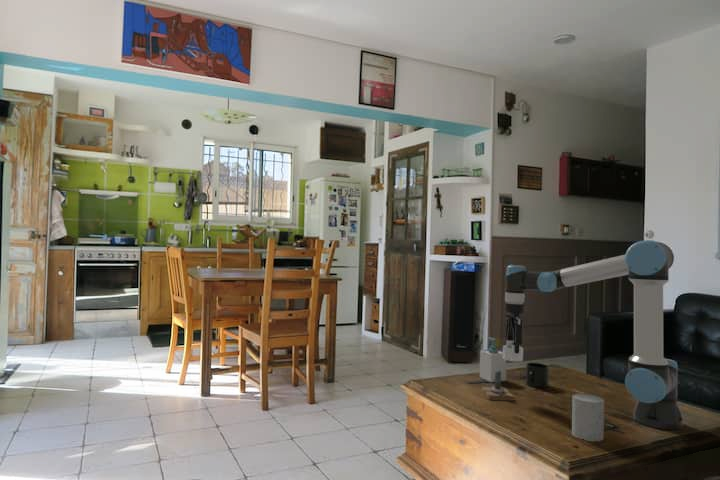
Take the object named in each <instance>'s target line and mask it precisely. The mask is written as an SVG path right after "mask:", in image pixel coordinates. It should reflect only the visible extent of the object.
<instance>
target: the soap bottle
mask: <svg viewBox="0 0 720 480" xmlns="http://www.w3.org/2000/svg"><path fill="white" fill-rule="evenodd" d="M486 338H487V339H488V340H489V341H491V345H490V347H489V348H488V349H481V350H480V356H479V359H480V360H479V367H480V368H479V378H481V379H483V380H484V381H487V382H490V383H495V371H501V382H506V381H507V360H505V359H503V351H501V350H499V349H498V348H497V345H495V344H496V341H497V340H498V339H497V338H493V337H489V336H487V337H486Z"/></svg>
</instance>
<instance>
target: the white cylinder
mask: <svg viewBox="0 0 720 480" xmlns="http://www.w3.org/2000/svg"><path fill="white" fill-rule="evenodd" d="M571 397H572V398H571V399H572V400H571V401H572V405H571V409H572V410H571V411H572V412H571V435H572V436H573V437H574V438H576V439H579V438H580V440H582V439H584V440H583V441H586V442H595V441H597V442H602V441H604V440H605V436H604V435H605V431H604V430H605V401H606V400H605V399H604V398H603V397H601V396H598V395H595V394H592V393H591V394H590V393H580V392H579V393H574V394H572V396H571ZM603 439H604V440H603ZM601 440H602V441H601Z"/></svg>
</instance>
